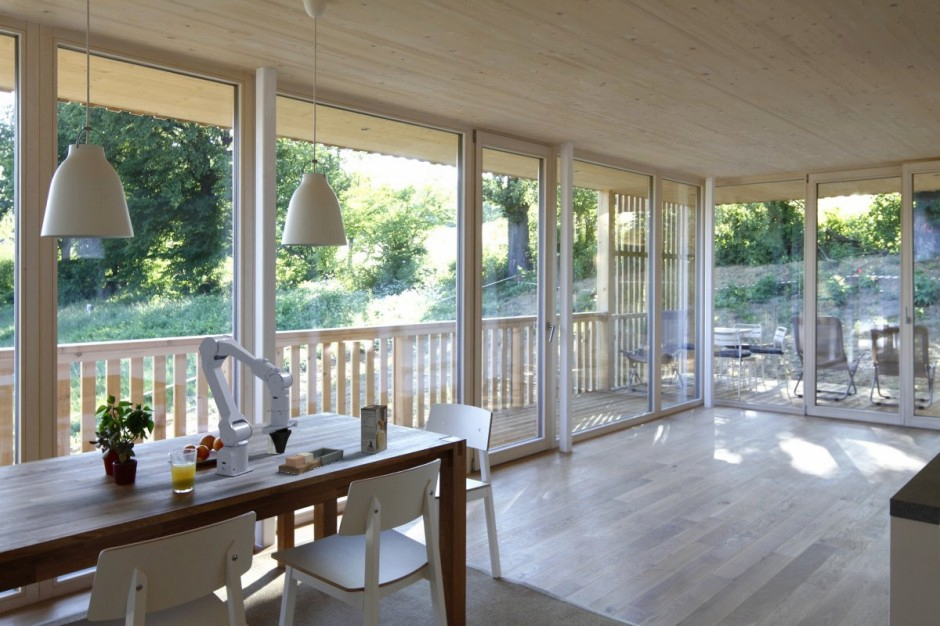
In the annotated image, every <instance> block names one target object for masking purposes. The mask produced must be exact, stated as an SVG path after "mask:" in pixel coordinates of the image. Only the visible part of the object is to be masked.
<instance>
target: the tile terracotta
mask: <svg viewBox="0 0 940 626" xmlns="http://www.w3.org/2000/svg"><path fill="white" fill-rule="evenodd" d="M285 463H286V466H291V467H298V466H300V465H303V464H304V457H302V456H296V455H290V456H288V457H285Z"/></svg>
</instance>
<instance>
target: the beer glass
mask: <svg viewBox="0 0 940 626" xmlns="http://www.w3.org/2000/svg"><path fill="white" fill-rule="evenodd" d="M265 413H266V414H265V427H266V426H268V425H270V424H271V409H267V410H266V411H265ZM266 437H267V449H266V454H267V453H268V455H271V454H278V453H276V449H275V445H274V443H273V440H272V438H271V437H270V435H269V434H268V435H266ZM278 455H279V454H278Z"/></svg>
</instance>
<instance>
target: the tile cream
mask: <svg viewBox="0 0 940 626" xmlns="http://www.w3.org/2000/svg"><path fill="white" fill-rule="evenodd" d="M295 456H302V457H304V464H306V463H309V462H312V461H313V453H307V451H306V452H299V453H297V454H295Z"/></svg>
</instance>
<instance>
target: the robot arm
mask: <svg viewBox="0 0 940 626" xmlns="http://www.w3.org/2000/svg"><path fill="white" fill-rule="evenodd" d="M198 352H199V354H200V357H201V368H202V371H203V374H204V376H205V379H206V382H207V384H208V387H209V390H210V392H211V395H212V397H213V400H214V403H215V405H216V408H217V411H218V413H219V415H220V418H221V419H219V420H220V421H219V422H218V425H217V426H218V430H219V440H220V441H221V443H222V444H223V445H222V447H221V448H219V449H218V451H217V453H216V471H215V472H214V474H216V475H222V476H229V477H237V476H240V475H243V474H246V473H249V472H251V471H255V468H254V467H249V443H250V439H251V437H253V434H254V433H253V432H254V428H253V426H252V424H251V423H250V422H249V421H248V420H247V417H246V416H245V415H244V414H243V413H241V412H240V411H239V410H238V406H237V405H236V402H235V399H234V397H233V394H232V392H231V389H230V386H229V384H228V382H227V378H226V377H225V374H224V371H223V368H222V366H223V363H224V362H225V361H226V359H227V358H228V357H229V356H231V357H232V358H235V359H236V360H238V361H239V362H240V363H243V364H244V365H246V366H248V367H249V368H250V372H251V374H253V375H254V376H256V377H257V378H258V379H259V380H261V381H263V382H264V383H265V384H266V386H267V388H268V389H269V395H270V410H271V424H270V425H268V426H266V425H265V426H264V427H262V428H261V435H266V436H267V435H268V434H269V435H270V437H271V438H272V440H273V443H274V445H275V449H276V453H278V455H283V454H285V451H286V448H287V447H286V446H287V444H288V441H289V438H290V436H291V434H292V433H293V432H292V429H291V428H295V427H296V428H297V427H298V419H297V420H296V419H291V418H290V417H291V416H290V410H291V409H290V400H291V399H290V395H291V393H290V387H292V386H293V384H294V378H293V375H292V373H291V372H290V371H288V370H286V369H285V370H281V368H280V367H279V366H275V365H274V364H272V363H271V362H270V361H269V360H270V359H268V358H267V357H266V358H264V357H260V358H258V357H256V356H254V355H253V354H252V353H251V352H250V351H248V350H247V349H246V348H245V347H243V346H242V345H241V344H239V342H237V340H236V339H234V338H232V337H231V336H230V335H225V334H224V335H220V336H219V335H218V336H207V337H205V338H203V339H202V340H201V343H200V344H199V347H198Z"/></svg>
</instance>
